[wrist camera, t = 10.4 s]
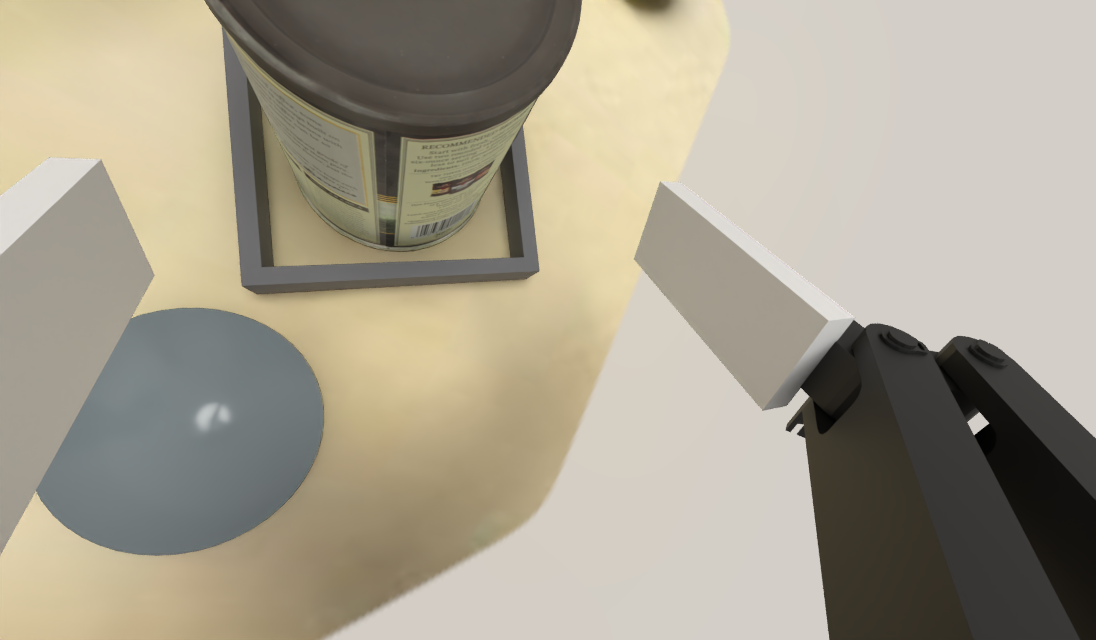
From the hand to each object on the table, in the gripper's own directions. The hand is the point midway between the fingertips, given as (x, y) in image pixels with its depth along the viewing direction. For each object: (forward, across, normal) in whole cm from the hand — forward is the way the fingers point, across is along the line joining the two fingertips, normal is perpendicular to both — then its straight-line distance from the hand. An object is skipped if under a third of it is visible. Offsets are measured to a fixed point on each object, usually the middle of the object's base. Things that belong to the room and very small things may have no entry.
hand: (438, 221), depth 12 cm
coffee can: (+15, 0, +4) cm, 16 cm away
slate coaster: (+6, +10, +13) cm, 18 cm away
